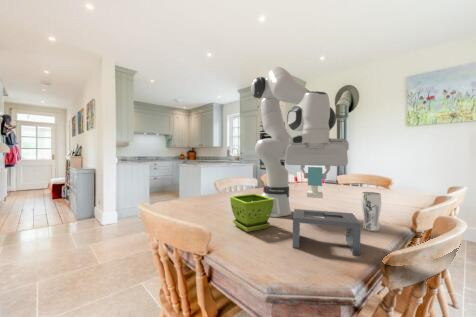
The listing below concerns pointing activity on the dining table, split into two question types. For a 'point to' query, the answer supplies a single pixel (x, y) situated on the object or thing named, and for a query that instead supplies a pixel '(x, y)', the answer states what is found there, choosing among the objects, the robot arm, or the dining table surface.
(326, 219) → the keyhole bracket
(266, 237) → the dining table surface
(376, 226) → the beer glass
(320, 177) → the peg
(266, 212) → the flower pot
